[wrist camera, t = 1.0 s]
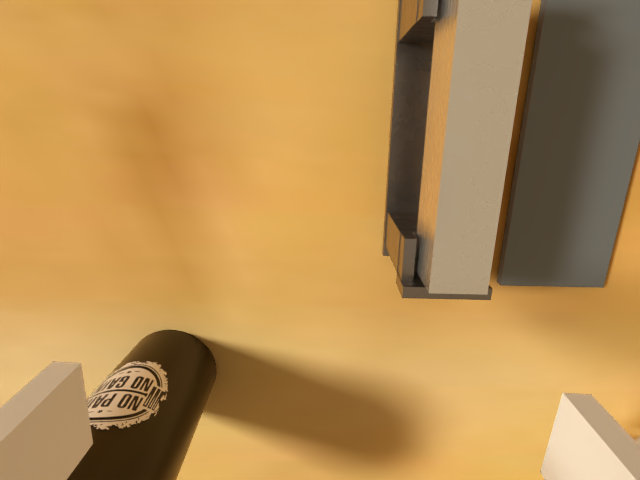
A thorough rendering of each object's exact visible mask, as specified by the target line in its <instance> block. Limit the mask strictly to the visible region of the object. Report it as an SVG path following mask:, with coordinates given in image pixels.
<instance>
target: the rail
mask: <svg viewBox="0 0 640 480" xmlns="http://www.w3.org/2000/svg"><path fill="white" fill-rule="evenodd" d="M531 5H532V0H438V9H437V16H436V21H435V32H434V44H433V55H432V66H431V77H430V88H429V100H428V111H427V122H426V133H425V145H424V156H423V167H422V178H421V190H420V201H419V212H418V223H417V234H416V238H417V243H416V254H415V265H414V268H415V270H416V271H417V273H418V275H419V277H420V279H421V280H422V282H423V284H424V286H425V287H426V289H427V291H428V293H436V294H482V295H487V294H488V287H489V281H490V274H491V268H492V261H493V254H494V248H495V241H496V235H497V228H498V222H499V215H500V209H501V202H502V195H503V189H504V182H505V176H506V169H507V163H508V156H509V150H510V143H511V136H512V130H513V123H514V117H515V110H516V104H517V97H518V91H519V84H520V77H521V71H522V64H523V58H524V51H525V45H526V38H527V32H528V25H529V18H530V12H531Z"/></svg>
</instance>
